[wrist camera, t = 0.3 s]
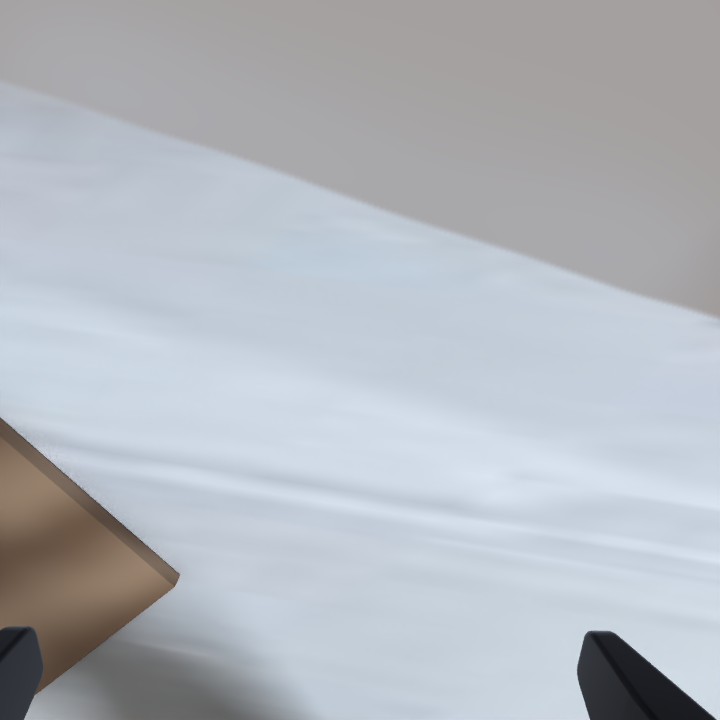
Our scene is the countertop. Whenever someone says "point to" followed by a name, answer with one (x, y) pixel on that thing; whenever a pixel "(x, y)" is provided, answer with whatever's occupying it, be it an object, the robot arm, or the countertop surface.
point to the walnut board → (66, 560)
